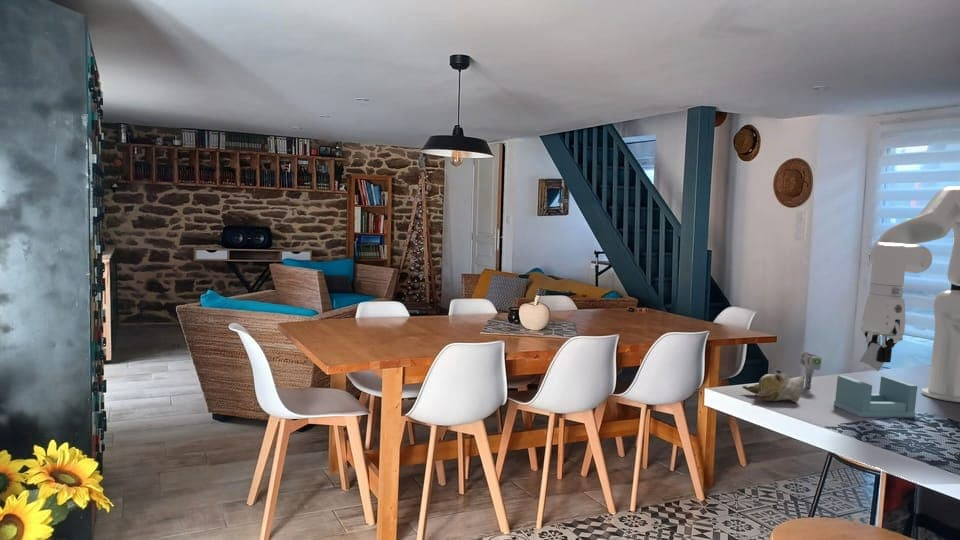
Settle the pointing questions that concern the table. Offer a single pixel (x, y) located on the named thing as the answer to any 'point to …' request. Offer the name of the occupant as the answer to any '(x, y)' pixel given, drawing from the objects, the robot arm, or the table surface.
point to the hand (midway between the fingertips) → (878, 359)
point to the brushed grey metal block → (872, 357)
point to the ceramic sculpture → (778, 387)
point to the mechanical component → (809, 366)
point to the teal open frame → (876, 397)
